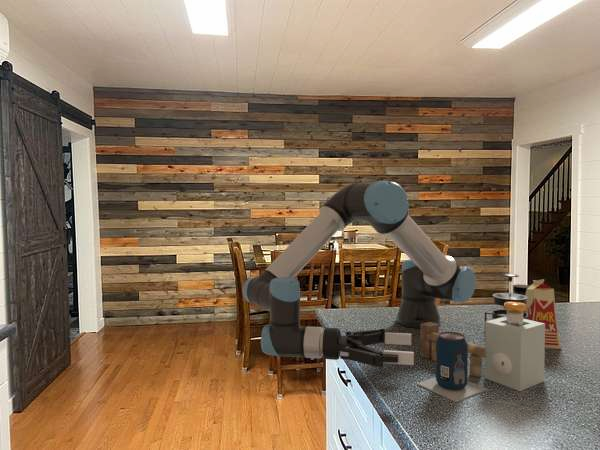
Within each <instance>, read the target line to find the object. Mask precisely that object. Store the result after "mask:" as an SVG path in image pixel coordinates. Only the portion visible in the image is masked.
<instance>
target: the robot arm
mask: <svg viewBox="0 0 600 450" xmlns="http://www.w3.org/2000/svg"><path fill="white" fill-rule="evenodd" d="M407 199H408V195H407V192H406V191H405V190H404V188H403V187H402V186H401V185H400V184H398V183H397V182H394V181H391V180H390V181H388V180H376V181H367V182H366V181H365V182H354V183H351V184H347V185H345V186H344V187H342V188H341V189H339V190H338V191H337V192H336V193H334V194H333V195H332V196H331V197H329V199H328V200H327V201H325V203H324V204H322V206H320V208H319V214H317V216H316V217H315V218H314V219H313V220H311V222H310V223H309V224H308V225H307V226H306V227H305V228H304V229H303V230H302V231H301V232H300V233H299V234H298V235H297V236H296V237H295V238H294V240H292V241H291V242H290V243H289V244H288V246H286V248H285V249H284V250H283V251H282V252H281V253H280V254H279V255H278V256H277V257H276V258H275V259H274V260H273V261H272V263H270V265H268V266H267V267H266V269H265V270H264V271H263V272H261V274H259V275H258V276H253V277H250V278H248V279H247V280H246V281H245V282H244V284H243V286H242V296H243V298H244V300H245V301H247V303H249V304H251V305H253V306H255V307H259V308H261V309H263V310H265V311H267V312H269V313H270V314H269V317H270V318H269V319H270V320H269V321H270V322H269V323H268V324H266V325H264V326H263V328H262V330H261V338H260V346H261V351H262V353H264V354H266V355H268V356H269V355H270V356H277V357H280V358H281V357H287V358H288V357H291V358H292V357H293V358H306V359H310V360H311V361H313V360H315V359H322V358H324V359H325V360H334V361H335V360H337V361H338V360H339V359H340V360H349V361H354V362H357V363H361V364H364V365H368V366H372V367H375V368H376V367H377V368H384V364H391V365H404V366H405V365H408V366H414V364H415V362H414V361H415V360H414V359H415V352H414V351H406V350H405V351H403V350H391V349H390V350H387V349H386V350H383V351H382V350H381V351H380V350H378V349H375V348H373V347H369V346H370V345H371V346H372V345H377V344H381V343H384V344H385V345H386V344H387V345H401V346H404V345H405V346H412V333H407V332H406V333H404V332H403V333H402V332H386V330H385V328H379V329H369V330H357V331H348V330H347V331H346V332H345V335H341V330H340V328H339V327H326V328H323V327H322V326H302V325H301V290H300V289H301V288H300V282H299V280H298V279H297V278H295V277H296V276H297V275H298V274H299V273H300V272H301V271H302V270H303V269H304V267H305V266H306V265H308V264H309V263H310V261H311V260H312V259H314V257H315V256H316V255H317V254H318V253H319V251H321V249H323V247H324V246H325V245H326V244H327V243H328V242H329V241H330V240H331V239H332V238H333V236H334V235H335V234H336V233H337V232H342V231H344V230H345V229H346V228H347V226H349V225H351V224H352V223H355V222H356V223H357V222H359V223H361V222H362V223H367V224H368V225H370V226H371V227H372V228H373V229H374V230H375V231H376V232H377V233H378V234H380V235H386V236H387V237H388V238H390V240H392V242H393V243H394V244H395V245H396V246H397V247H398V248H399V249H400V250H401V251H402V252H403V253H404V254H405V255H406V256H407V258H408V259H405V260H403V262H402V264H401V272H400V273H401V303H400V306H399V308H398V312H397V314H396V322H397V324H399V325H401V326H404V327H409V328H413V329H421V324H423V323H427V322H433V323H436V324H439V326H441V323H442V322H441V320H442V319H441V316H440V312H439V309H438V306H437V302H436V299H441V300H444V301H450V302H453V303H460V304H463V303H466V302H468V301H469V300H470V299H471V298H472V297H473V295H474V292H475V289H476V286H477V277H476V273H475V272H474V269H472V268H471V267H468V266H462V265H460V264H459V263H458V262H457V261H456V260H455V258H453V257H452V256H450V255H449V254H448V255H447V254H444V253H443V252H442V251H441V250H440V248H439V247H437V245H436V244H435V243H434V242H433V240H432V239H430V238H429V236H428V235H427V234H426V233H425V232H424V231H423V230H422V229H421V228H420V226H419V225H418V224H417V223H416V222H415V220H413V218H412V217H411V216H410V215H409V213H410V209H409V207H410V205H409V203H410V202H409V201H408V200H407Z"/></svg>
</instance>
